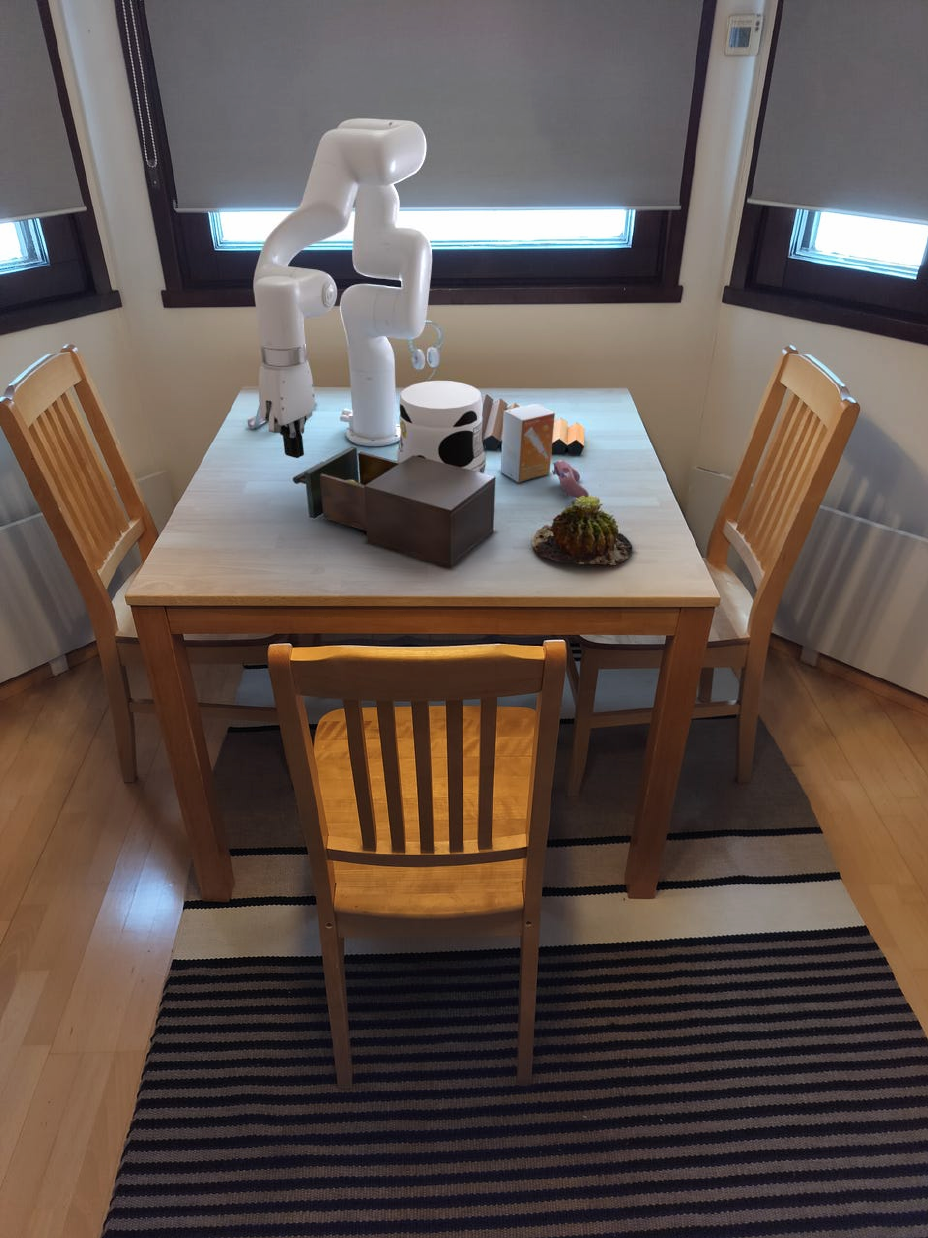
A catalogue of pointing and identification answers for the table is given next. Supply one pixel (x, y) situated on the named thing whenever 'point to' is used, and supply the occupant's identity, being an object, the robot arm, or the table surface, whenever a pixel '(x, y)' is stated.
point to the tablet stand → (255, 420)
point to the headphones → (432, 353)
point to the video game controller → (569, 479)
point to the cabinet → (430, 510)
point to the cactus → (583, 536)
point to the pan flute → (495, 411)
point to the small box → (527, 442)
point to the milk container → (442, 424)
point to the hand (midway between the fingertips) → (294, 455)
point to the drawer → (342, 486)
